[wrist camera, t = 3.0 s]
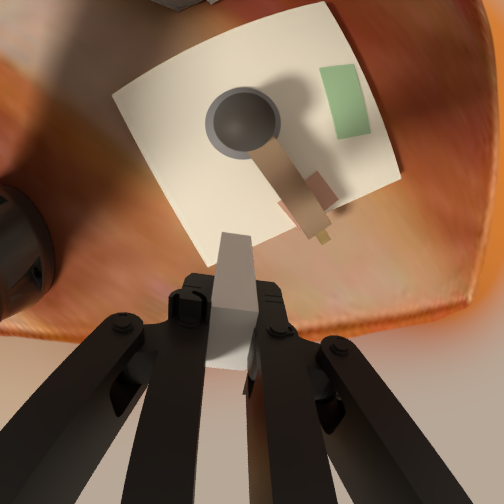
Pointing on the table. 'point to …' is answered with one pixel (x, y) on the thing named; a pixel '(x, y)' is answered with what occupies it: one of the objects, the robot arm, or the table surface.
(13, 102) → the table surface
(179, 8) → the electrical switch
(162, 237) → the table surface
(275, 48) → the tuner plate
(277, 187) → the peg
